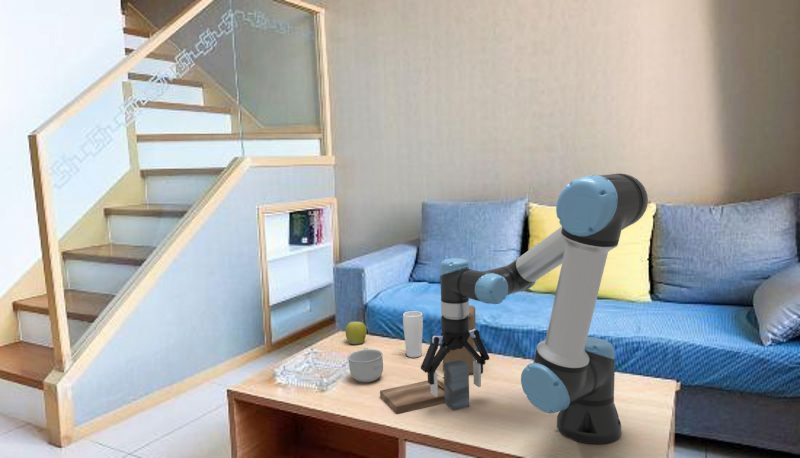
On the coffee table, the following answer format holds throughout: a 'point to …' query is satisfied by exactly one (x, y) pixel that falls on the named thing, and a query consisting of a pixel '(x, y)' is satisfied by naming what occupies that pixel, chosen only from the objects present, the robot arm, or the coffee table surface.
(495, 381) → the coffee table surface
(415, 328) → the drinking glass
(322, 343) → the coffee table surface
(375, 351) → the teacup
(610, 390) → the robot arm
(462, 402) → the grey block
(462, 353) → the wooden block
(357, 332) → the apple
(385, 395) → the board
